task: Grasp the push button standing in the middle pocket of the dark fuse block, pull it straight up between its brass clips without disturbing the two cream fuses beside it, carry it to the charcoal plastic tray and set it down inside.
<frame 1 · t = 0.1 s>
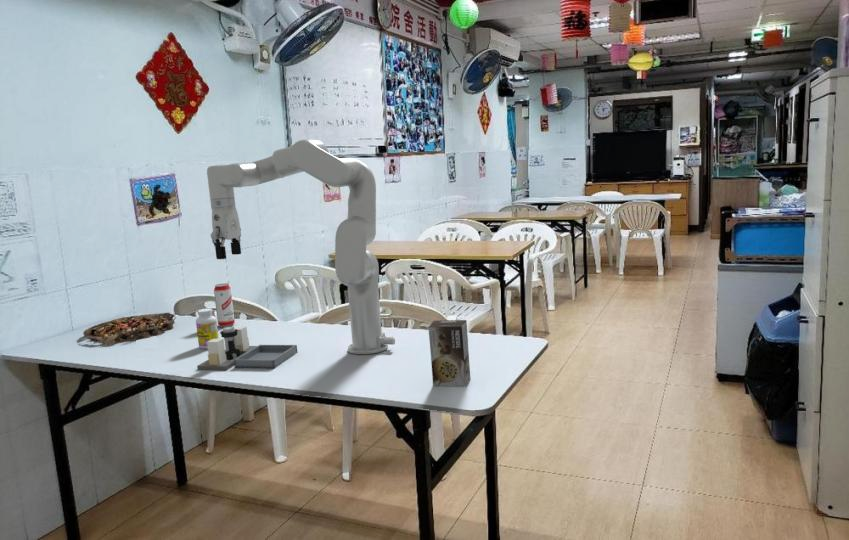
hand: (229, 256, 212), 31 cm above the table, fingers open, 9 cm apart
fuse block: (230, 359, 206), on the table
food dish: (133, 333, 252), on the table
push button: (230, 359, 206), on the table
printed cardboard box: (451, 383, 171), on the table
supplement bottle: (209, 347, 223), on the table
tray: (267, 360, 202), on the table
beer can: (226, 325, 252), on the table
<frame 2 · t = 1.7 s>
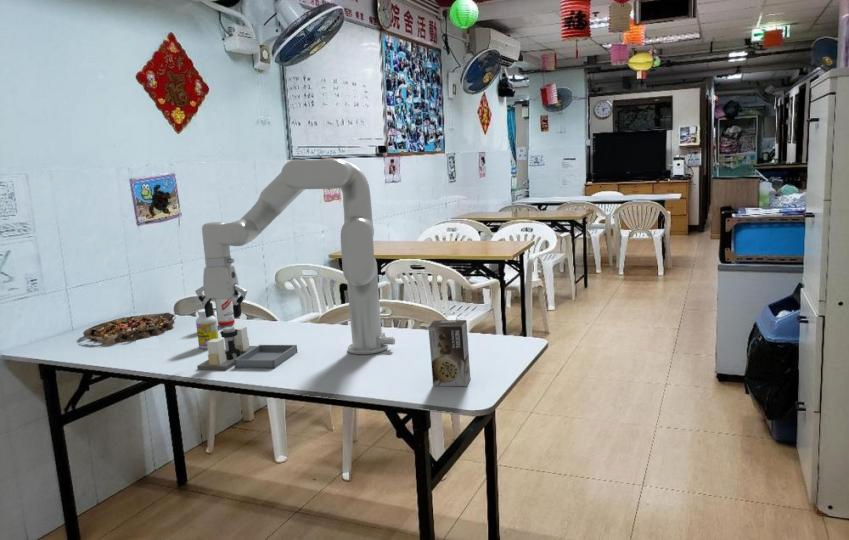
hand: (223, 316, 204), 14 cm above the table, fingers open, 9 cm apart
nothing on the table moved.
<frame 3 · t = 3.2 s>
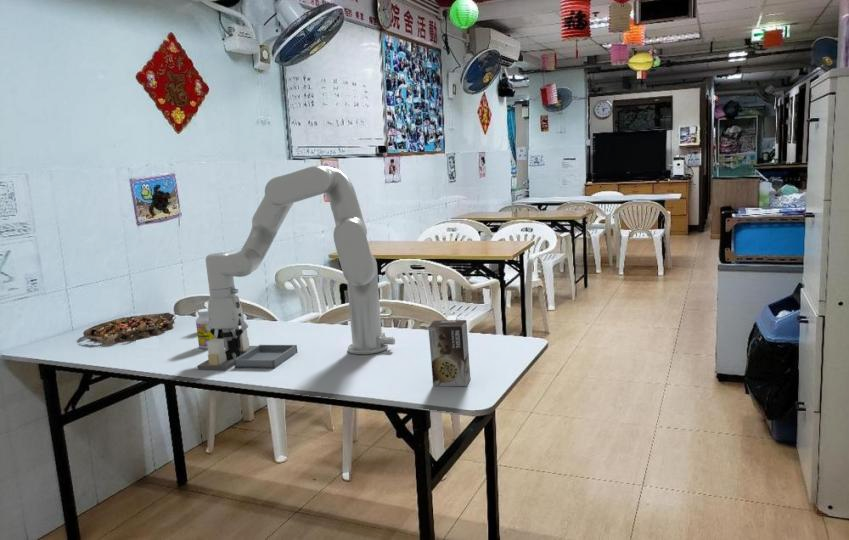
hand: (229, 348, 205), 3 cm above the table, fingers closed on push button, 4 cm apart
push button: (230, 359, 206), on the table, touching gripper
everything else where it was.
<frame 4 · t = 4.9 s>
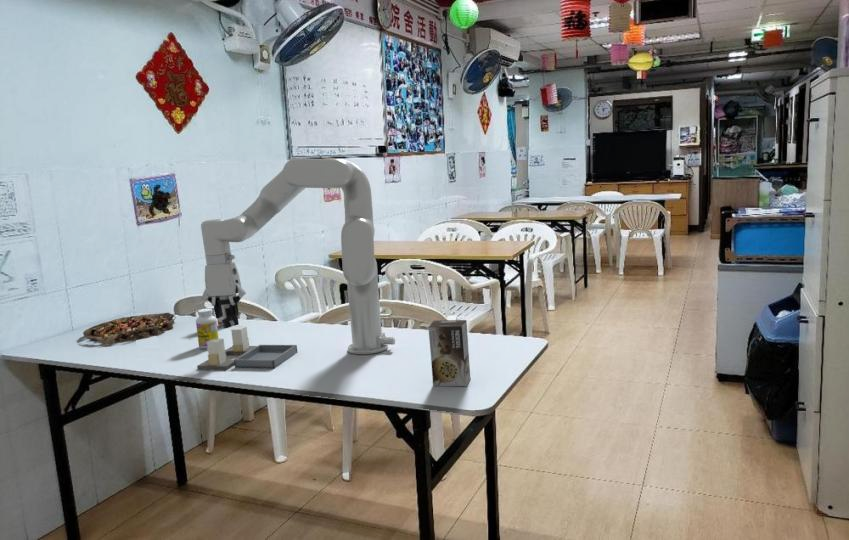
hand: (227, 316, 204), 14 cm above the table, fingers closed on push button, 4 cm apart
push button: (228, 327, 204), point 10 cm above the table, touching gripper
everything else where it was.
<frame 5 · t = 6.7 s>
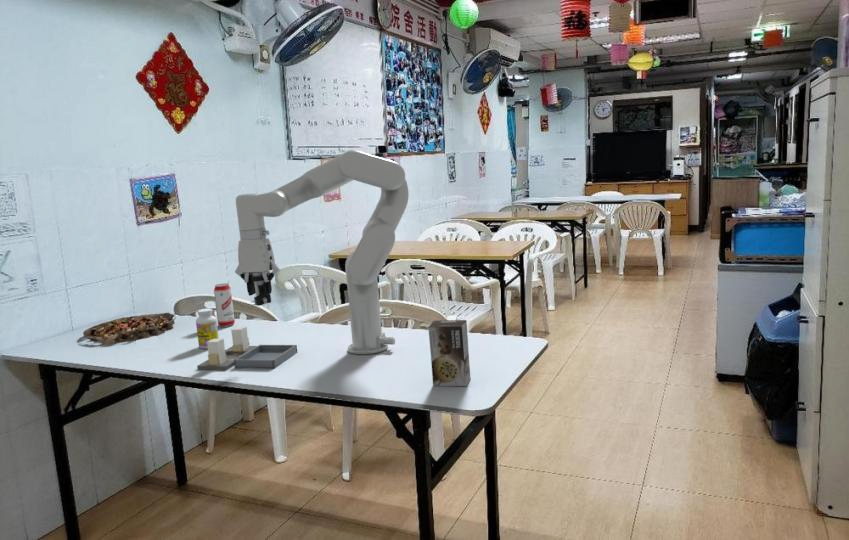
hand: (260, 293, 199), 21 cm above the table, fingers closed on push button, 4 cm apart
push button: (261, 305, 199), point 17 cm above the table, touching gripper
everything else where it was.
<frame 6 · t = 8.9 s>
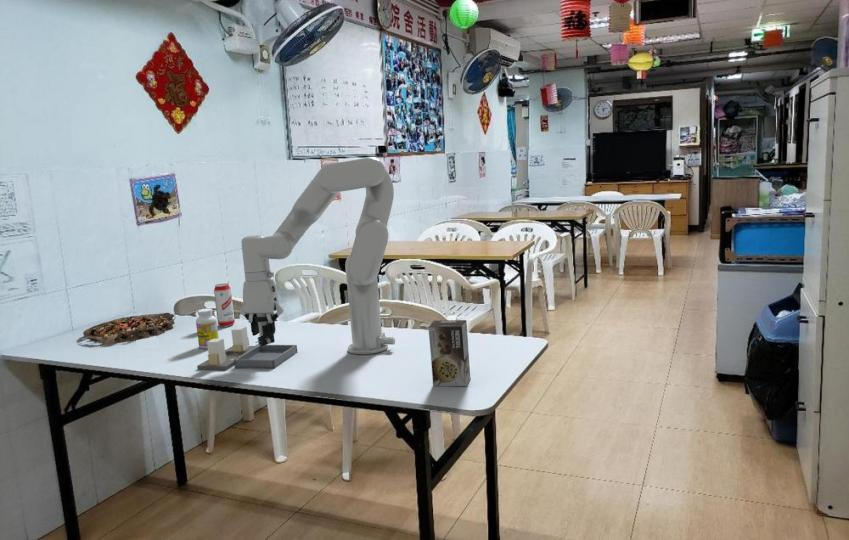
hand: (263, 334, 201), 8 cm above the table, fingers closed on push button, 4 cm apart
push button: (264, 345, 201), point 5 cm above the table, touching gripper
everything else where it was.
when the fingers open (5 cm above the table, at t = 10.0 s): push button drops 1 cm, resting on tray.
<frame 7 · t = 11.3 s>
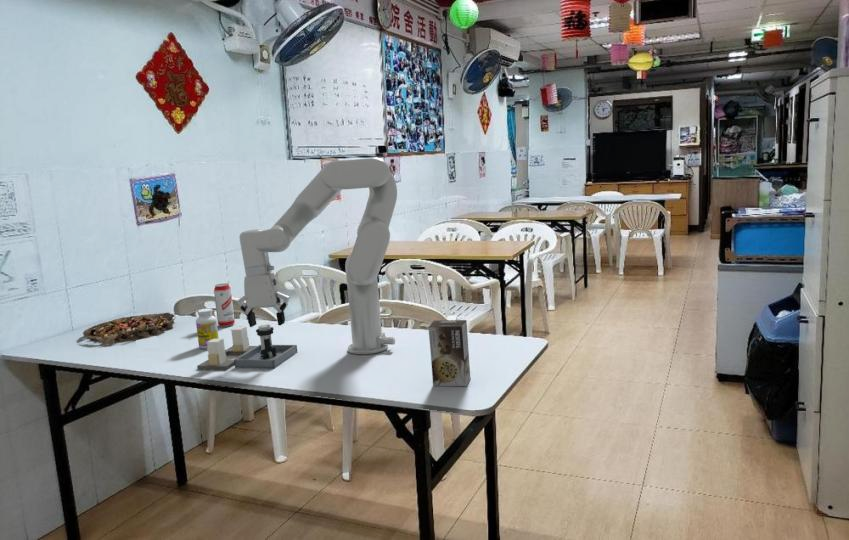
hand: (267, 325, 201), 11 cm above the table, fingers open, 9 cm apart
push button: (266, 358, 202), resting on tray
everything else where it was.
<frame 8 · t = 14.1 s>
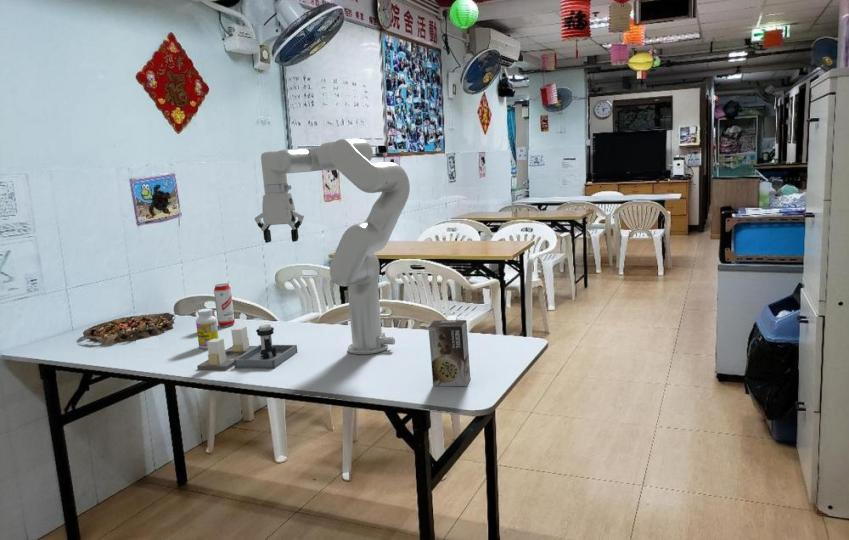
hand: (281, 241, 216), 34 cm above the table, fingers open, 9 cm apart
nothing on the table moved.
at the end: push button inside the target area on the tray (0.4 cm from its centre), point 0.4 cm above the tray's base; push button tilted 0°; the gripper is holding nothing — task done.
